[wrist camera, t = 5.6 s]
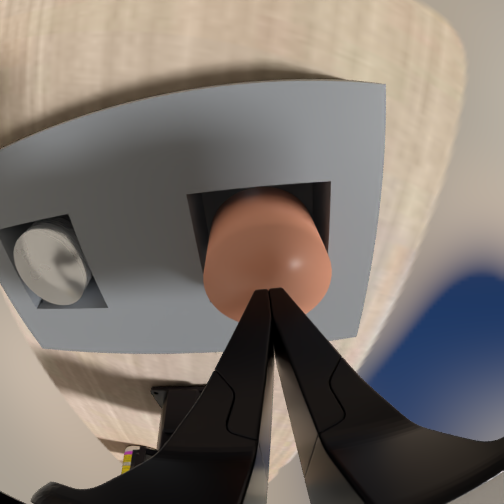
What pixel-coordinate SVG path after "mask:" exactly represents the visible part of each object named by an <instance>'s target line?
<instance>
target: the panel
mask: <svg viewBox="0 0 504 504" xmlns="http://www.w3.org/2000/svg"><path fill="white" fill-rule="evenodd" d="M385 125H386V84H379V83H372V82H363V81H354V80H339V79H286V80H266V81H252V82H240V83H231V84H222V85H214V86H207V87H200V88H194V89H188V90H182V91H176V92H171V93H166V94H161V95H156V96H151V97H147V98H143V99H138V100H134V101H130V102H126V103H122V104H119V105H115V106H111V107H108V108H104V109H101V110H98V111H94V112H91V113H88V114H85V115H82V116H79V117H76V118H73V119H70V120H67V121H65V122H62V123H59V124H56V125H54V126H51V127H49V128H46V129H43V130H41V131H39V132H36V133H34V134H31V135H29V136H27V137H24V138H22V139H20V140H18V141H16V142H13V143H11V144H9V145H7V146H5V147H3V148H1V149H0V283H1V285H2V287H3V289H4V290H5V292H6V294H7V296H8V297H9V299H10V301H11V302H12V304H13V306H14V307H15V309H16V310H17V312H18V313H19V315H20V317H21V318H22V320H23V321H24V323H25V324H26V326H27V327H28V329H29V330H30V331H31V333H32V334H33V336H34V337H35V338H36V340H37V341H38V343H39V344H40V345H41V347H42V348H44V349H54V350H66V351H80V352H98V353H129V354H174V353H205V352H224V350H225V348H226V346H227V344H228V342H229V340H230V338H231V336H232V334H233V332H234V330H235V328H236V326H237V324H238V321H235V320H233V319H231V318H229V317H227V316H225V315H224V314H222V313H221V312H220V311H219V310H218V309H217V308H216V307H215V306H214V305H213V304H212V303H211V301H210V300H209V298H208V296H207V294H206V291H205V288H204V282H203V274H204V267H205V261H206V254H207V248H208V241H209V235H210V229H211V224H212V221H213V218H214V215H215V214H216V212H217V210H218V209H219V207H220V206H221V205H222V204H223V203H224V202H225V201H226V200H227V199H228V198H230V197H231V196H233V195H234V194H236V193H238V192H240V191H243V190H246V189H249V188H254V187H274V188H278V189H282V190H284V191H287V192H289V193H291V194H293V195H294V196H295V197H297V198H298V199H299V200H300V201H301V202H302V203H303V204H304V205H305V207H306V208H307V210H308V211H309V213H310V215H311V217H312V220H313V222H314V224H315V226H316V228H317V231H318V233H319V235H320V237H321V240H322V242H323V244H324V247H325V249H326V251H327V253H328V256H329V259H330V262H331V267H332V277H331V282H330V285H329V288H328V290H327V292H326V294H325V296H324V297H323V299H322V300H321V301H320V302H319V303H318V305H317V306H315V307H314V308H313V309H312V310H311V311H309V312H308V313H307V314H306V315H307V317H308V318H309V319H310V320H311V321H312V322H313V324H314V325H315V326H316V327H317V328H318V329H319V330H320V332H321V333H322V334H323V335H324V336H325V337H326V339H327V340H328V341H332V340H339V339H345V338H351V337H356V336H357V332H358V328H359V324H360V319H361V315H362V310H363V306H364V301H365V296H366V291H367V286H368V281H369V275H370V270H371V264H372V258H373V252H374V245H375V239H376V232H377V224H378V216H379V208H380V199H381V189H382V178H383V165H384V149H385ZM65 214H69V217H70V219H71V222H72V225H73V228H74V230H75V233H76V236H77V238H78V241H79V243H80V246H81V248H82V251H83V253H84V256H85V258H86V260H87V263H88V265H89V267H90V270H91V272H92V274H93V276H92V278H91V280H90V281H89V283H88V285H87V287H86V289H85V290H84V292H83V294H82V296H81V297H80V299H79V300H78V301H76V302H75V303H73V304H70V305H57V304H53V303H50V302H48V301H46V300H44V299H42V298H41V297H39V296H38V295H36V294H35V293H34V292H33V291H32V290H31V289H30V288H29V287H28V286H27V285H26V284H25V282H24V281H23V280H22V278H21V276H20V275H19V273H18V270H17V268H16V265H15V261H14V247H15V244H16V242H17V240H18V239H19V237H20V236H21V235H22V234H23V233H24V232H25V231H26V230H27V229H28V228H29V227H30V226H31V225H32V224H33V223H34V222H35V221H37V220H41V219H46V218H51V217H55V216H60V215H65Z"/></svg>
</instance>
